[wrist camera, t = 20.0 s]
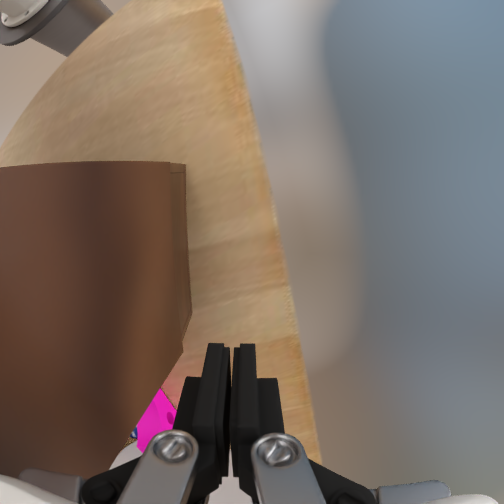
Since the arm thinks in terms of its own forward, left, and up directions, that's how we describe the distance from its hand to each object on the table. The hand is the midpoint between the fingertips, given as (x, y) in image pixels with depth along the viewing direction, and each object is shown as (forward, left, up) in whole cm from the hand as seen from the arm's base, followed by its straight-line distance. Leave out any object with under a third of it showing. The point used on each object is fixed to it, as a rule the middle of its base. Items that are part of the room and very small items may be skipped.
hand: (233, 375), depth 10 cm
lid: (-2, -7, -2) cm, 8 cm away
